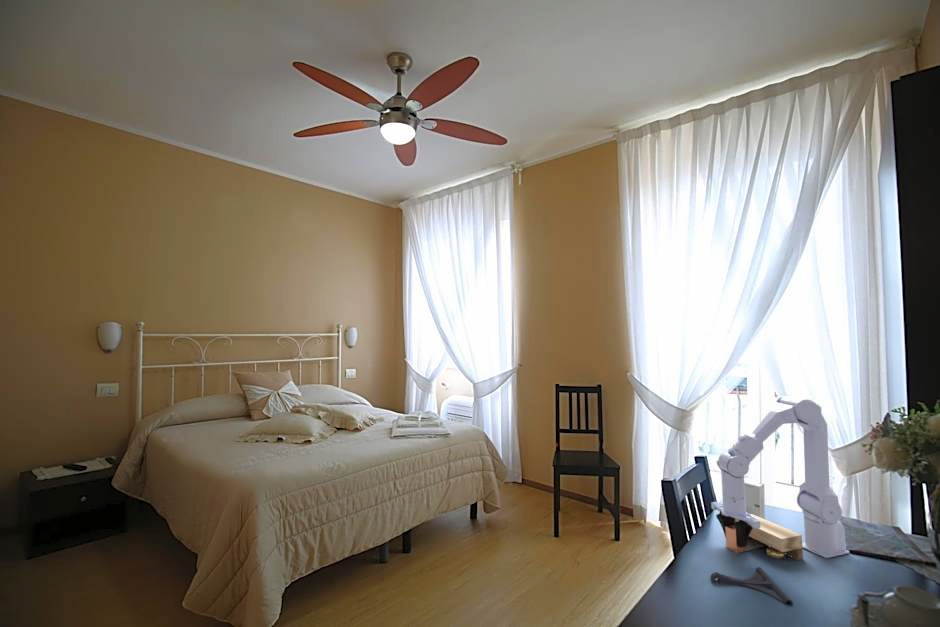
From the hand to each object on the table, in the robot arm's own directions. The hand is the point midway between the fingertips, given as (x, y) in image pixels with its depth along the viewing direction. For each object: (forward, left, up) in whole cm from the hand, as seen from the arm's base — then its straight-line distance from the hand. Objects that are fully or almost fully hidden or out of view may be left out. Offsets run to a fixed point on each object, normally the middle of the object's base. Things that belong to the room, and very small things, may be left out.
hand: (735, 543), depth 124 cm
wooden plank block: (-9, +3, -2) cm, 9 cm away
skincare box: (-24, -14, -2) cm, 27 cm away
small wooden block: (-4, 0, -2) cm, 4 cm away
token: (-8, +6, -2) cm, 10 cm away
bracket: (+13, +14, -2) cm, 20 cm away
